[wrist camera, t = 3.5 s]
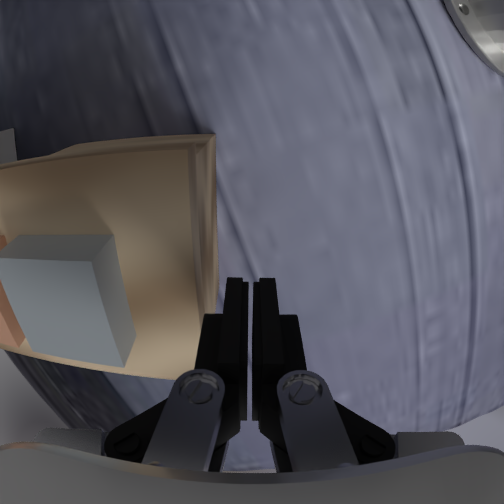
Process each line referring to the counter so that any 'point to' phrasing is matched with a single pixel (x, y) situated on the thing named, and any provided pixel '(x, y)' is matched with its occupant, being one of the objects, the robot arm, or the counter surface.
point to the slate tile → (69, 296)
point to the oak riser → (132, 233)
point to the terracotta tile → (8, 316)
